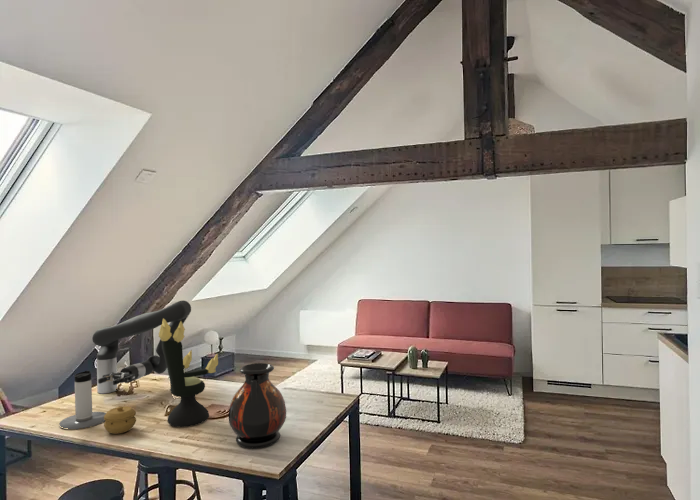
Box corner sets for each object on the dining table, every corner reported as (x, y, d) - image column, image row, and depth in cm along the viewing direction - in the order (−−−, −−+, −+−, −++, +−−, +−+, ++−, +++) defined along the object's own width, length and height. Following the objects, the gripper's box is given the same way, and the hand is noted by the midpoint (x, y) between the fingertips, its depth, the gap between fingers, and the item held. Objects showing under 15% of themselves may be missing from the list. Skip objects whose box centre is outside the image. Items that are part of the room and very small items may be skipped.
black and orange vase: (234, 430, 184) (233, 360, 184) (288, 428, 185) (287, 359, 185) (223, 454, 162) (221, 375, 162) (284, 451, 164) (283, 373, 164)
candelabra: (221, 417, 198) (219, 313, 198) (178, 436, 179) (176, 321, 179) (191, 410, 208) (189, 311, 207) (147, 427, 189) (145, 318, 188)
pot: (97, 436, 181) (96, 411, 181) (116, 425, 192) (115, 401, 192) (124, 437, 179) (124, 412, 179) (142, 426, 191) (141, 402, 191)
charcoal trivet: (59, 419, 200) (59, 417, 200) (106, 411, 209) (106, 408, 209) (59, 433, 185) (59, 430, 185) (109, 423, 194) (109, 421, 194)
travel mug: (96, 416, 200) (94, 370, 200) (86, 421, 194) (84, 374, 193) (82, 416, 201) (81, 370, 201) (72, 421, 194) (70, 374, 194)
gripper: (121, 364, 226) (93, 372, 211) (144, 365, 222) (118, 374, 206) (121, 379, 226) (94, 389, 211) (145, 381, 222) (118, 391, 206)
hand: (106, 382), depth 208 cm, fingers open, 8 cm apart
